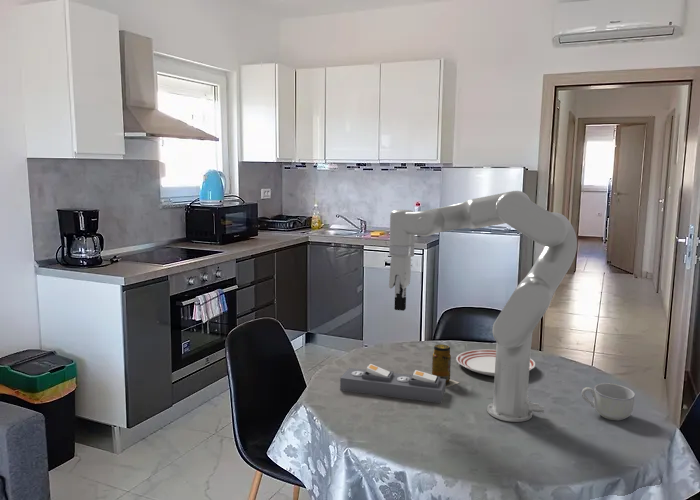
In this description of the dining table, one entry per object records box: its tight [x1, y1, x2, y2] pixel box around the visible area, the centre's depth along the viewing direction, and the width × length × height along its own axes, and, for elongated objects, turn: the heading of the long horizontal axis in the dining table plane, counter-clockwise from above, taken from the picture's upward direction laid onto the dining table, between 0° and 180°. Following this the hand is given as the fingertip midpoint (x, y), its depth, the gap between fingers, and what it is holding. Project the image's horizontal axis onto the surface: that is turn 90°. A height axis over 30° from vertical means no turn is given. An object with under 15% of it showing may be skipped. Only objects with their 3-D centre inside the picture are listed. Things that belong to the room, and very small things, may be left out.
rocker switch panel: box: [339, 367, 447, 404], centre depth 183 cm, size 32×10×5 cm, turn 73°
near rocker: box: [412, 369, 437, 383], centre depth 180 cm, size 7×4×1 cm, turn 73°
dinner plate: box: [455, 348, 536, 377], centre depth 207 cm, size 28×27×3 cm
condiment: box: [431, 343, 460, 388], centre depth 191 cm, size 7×8×12 cm
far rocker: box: [365, 363, 390, 377], centre depth 184 cm, size 7×4×1 cm, turn 73°
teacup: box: [581, 382, 636, 421], centre depth 167 cm, size 14×11×8 cm
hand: (400, 309), depth 178 cm, fingers closed
